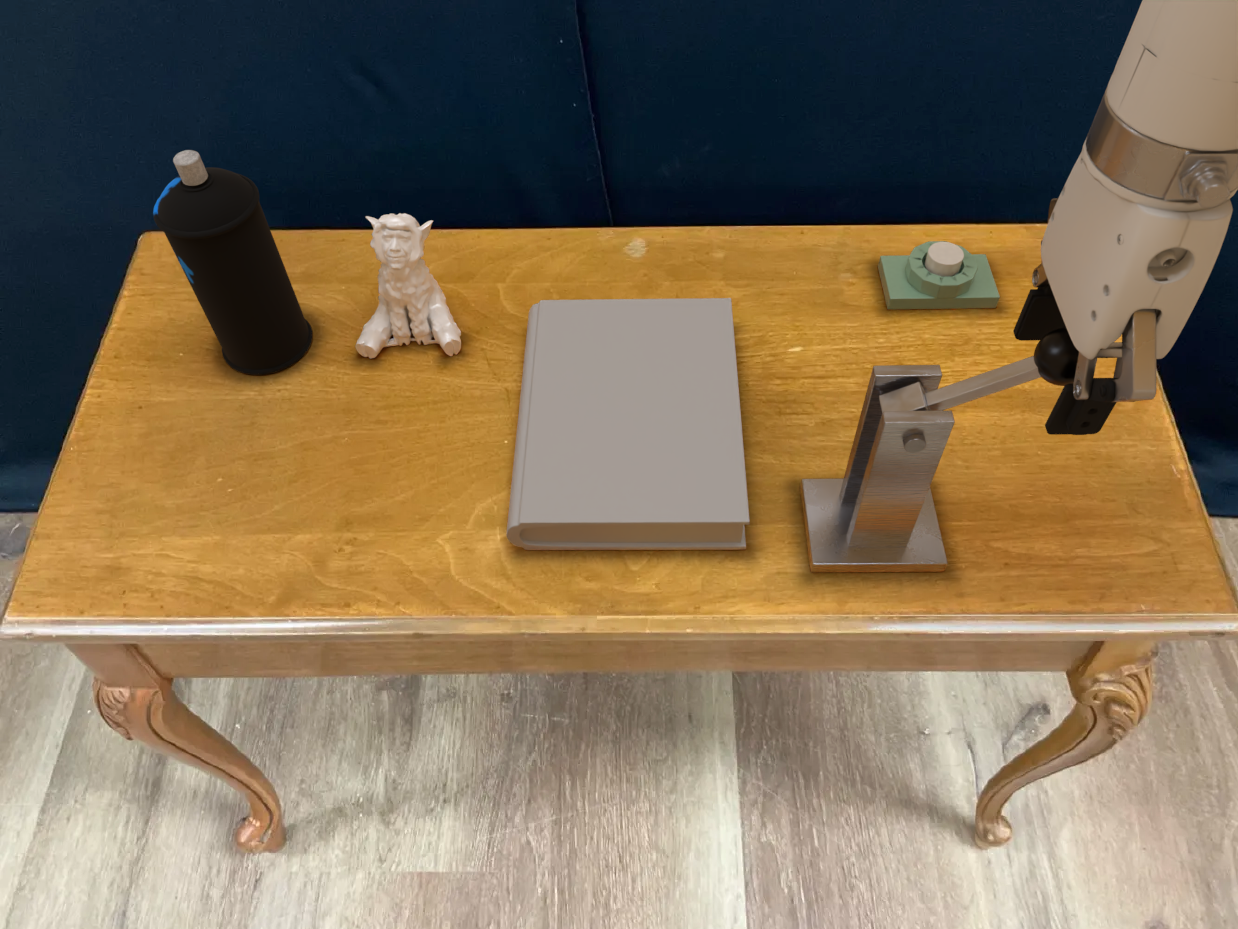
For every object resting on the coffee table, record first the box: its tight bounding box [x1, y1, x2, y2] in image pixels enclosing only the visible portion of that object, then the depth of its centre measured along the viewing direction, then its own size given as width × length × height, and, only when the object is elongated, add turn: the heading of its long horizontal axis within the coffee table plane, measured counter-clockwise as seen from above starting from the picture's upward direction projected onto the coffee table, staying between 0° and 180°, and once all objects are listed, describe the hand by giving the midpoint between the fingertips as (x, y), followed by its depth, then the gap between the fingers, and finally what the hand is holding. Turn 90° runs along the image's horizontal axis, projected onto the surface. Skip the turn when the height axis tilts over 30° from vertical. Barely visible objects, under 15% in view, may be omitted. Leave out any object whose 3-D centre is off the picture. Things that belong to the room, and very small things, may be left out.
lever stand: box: [799, 364, 956, 573], centre depth 69 cm, size 10×8×16 cm
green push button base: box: [877, 240, 1001, 310], centre depth 90 cm, size 10×6×3 cm, turn 89°
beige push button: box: [925, 241, 964, 277], centre depth 89 cm, size 3×3×2 cm
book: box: [505, 297, 750, 551], centre depth 80 cm, size 18×4×24 cm
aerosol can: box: [152, 149, 313, 376], centre depth 81 cm, size 8×8×20 cm
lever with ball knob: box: [879, 328, 1098, 413], centre depth 62 cm, size 13×4×4 cm, turn 90°
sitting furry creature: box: [354, 212, 462, 360], centre depth 85 cm, size 10×9×12 cm
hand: (1053, 380), depth 62 cm, fingers open, 7 cm apart
